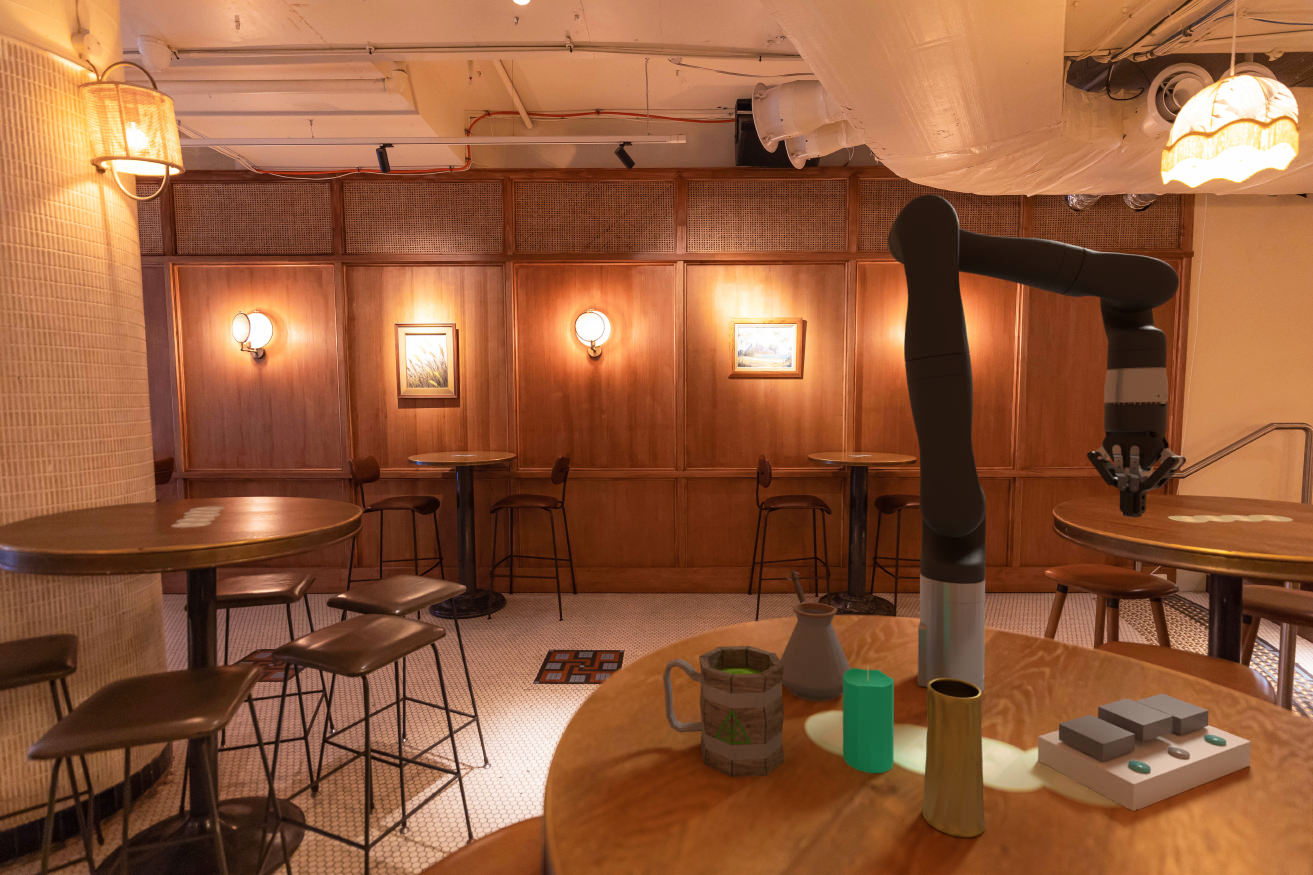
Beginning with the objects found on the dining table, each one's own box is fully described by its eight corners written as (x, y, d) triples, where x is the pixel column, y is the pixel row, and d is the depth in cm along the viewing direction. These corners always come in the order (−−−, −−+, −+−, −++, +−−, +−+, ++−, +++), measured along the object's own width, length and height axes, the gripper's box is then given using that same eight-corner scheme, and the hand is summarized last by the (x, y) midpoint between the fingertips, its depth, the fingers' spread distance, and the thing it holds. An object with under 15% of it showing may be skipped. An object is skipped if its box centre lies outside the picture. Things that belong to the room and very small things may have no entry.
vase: (911, 803, 71) (912, 676, 70) (964, 800, 71) (966, 674, 71) (940, 840, 65) (941, 702, 64) (998, 836, 65) (1000, 699, 65)
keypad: (1133, 811, 69) (1133, 781, 69) (1038, 759, 79) (1038, 733, 79) (1249, 765, 78) (1250, 738, 77) (1150, 724, 88) (1150, 700, 88)
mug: (789, 739, 85) (789, 650, 84) (777, 785, 75) (777, 684, 74) (676, 721, 90) (675, 637, 89) (650, 762, 80) (649, 667, 79)
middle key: (1142, 741, 76) (1143, 725, 76) (1097, 722, 80) (1098, 706, 80) (1172, 732, 78) (1172, 715, 78) (1126, 713, 83) (1127, 698, 82)
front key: (1102, 761, 73) (1103, 744, 73) (1058, 739, 78) (1059, 723, 78) (1134, 750, 75) (1134, 733, 75) (1089, 730, 80) (1089, 714, 80)
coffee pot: (863, 706, 94) (863, 605, 93) (785, 708, 94) (784, 606, 93) (824, 651, 115) (824, 568, 114) (760, 652, 115) (760, 569, 114)
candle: (897, 775, 76) (897, 676, 76) (845, 770, 77) (844, 672, 77) (889, 749, 82) (889, 657, 82) (841, 744, 83) (840, 654, 83)
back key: (1180, 734, 78) (1181, 718, 78) (1135, 716, 83) (1135, 701, 83) (1207, 725, 81) (1208, 710, 81) (1162, 707, 85) (1162, 693, 85)
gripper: (1074, 400, 100) (1071, 511, 100) (1169, 399, 87) (1166, 525, 88) (1105, 400, 102) (1103, 508, 103) (1202, 399, 90) (1199, 521, 91)
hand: (1132, 516), depth 96 cm, fingers closed
